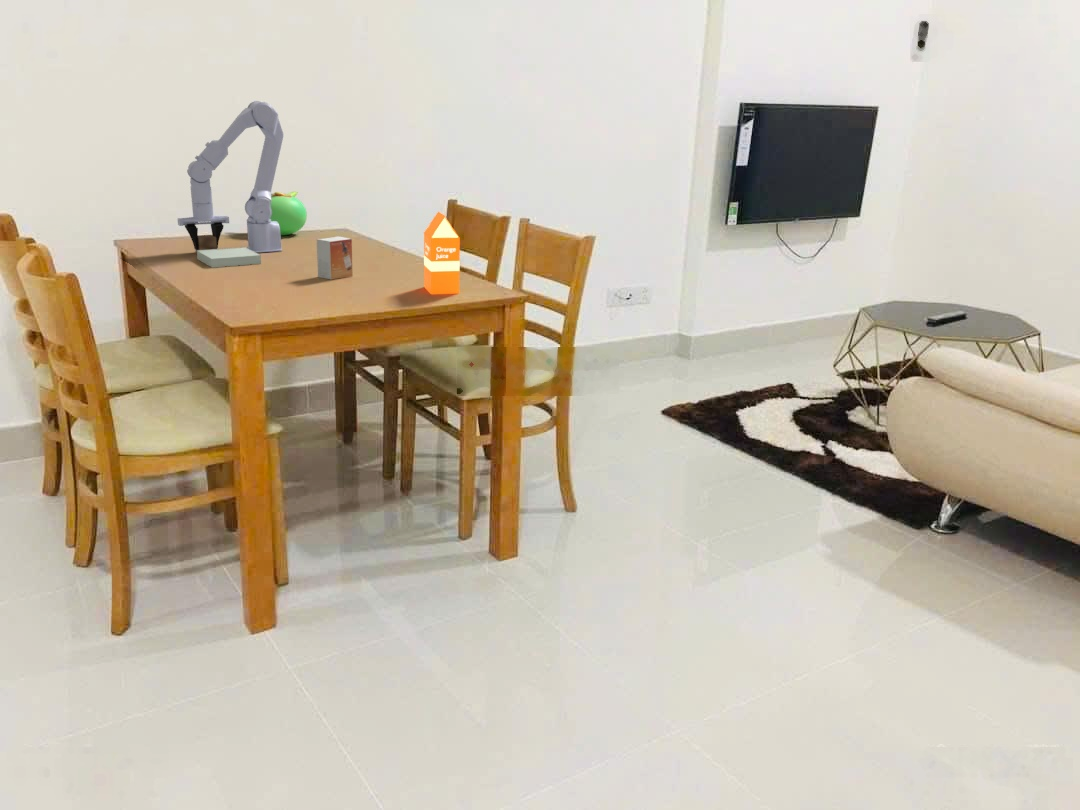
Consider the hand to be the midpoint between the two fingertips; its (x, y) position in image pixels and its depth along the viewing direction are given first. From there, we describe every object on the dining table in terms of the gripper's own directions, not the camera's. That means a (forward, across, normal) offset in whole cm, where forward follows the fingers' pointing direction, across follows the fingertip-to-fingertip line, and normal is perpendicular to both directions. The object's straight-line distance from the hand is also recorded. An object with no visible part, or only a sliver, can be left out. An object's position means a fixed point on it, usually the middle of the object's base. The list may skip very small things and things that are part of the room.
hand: (206, 248), depth 267 cm
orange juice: (+2, -39, +74) cm, 84 cm away
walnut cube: (+1, 0, 0) cm, 1 cm away
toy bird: (+2, -32, -24) cm, 40 cm away
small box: (+2, -21, +47) cm, 52 cm away
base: (+1, -2, +15) cm, 15 cm away
